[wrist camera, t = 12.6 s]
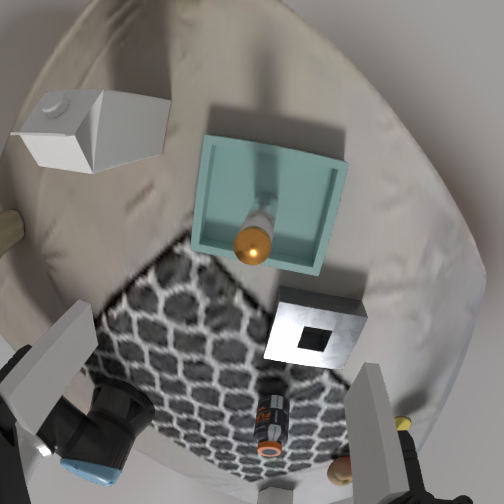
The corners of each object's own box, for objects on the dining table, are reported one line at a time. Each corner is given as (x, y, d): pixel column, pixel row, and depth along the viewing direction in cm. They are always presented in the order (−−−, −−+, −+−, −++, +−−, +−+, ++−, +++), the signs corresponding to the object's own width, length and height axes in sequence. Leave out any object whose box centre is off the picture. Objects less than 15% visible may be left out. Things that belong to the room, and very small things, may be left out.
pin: (252, 211, 35) (230, 260, 23) (256, 189, 34) (236, 226, 21) (275, 216, 35) (266, 268, 22) (280, 194, 34) (274, 234, 21)
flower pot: (0, 229, 43) (-28, 245, 35) (7, 191, 39) (-26, 205, 31) (26, 256, 44) (-3, 276, 36) (33, 218, 41) (0, 235, 33)
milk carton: (162, 154, 34) (62, 184, 17) (116, 148, 35) (8, 175, 17) (172, 100, 32) (72, 85, 14) (124, 97, 32) (15, 91, 14)
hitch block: (266, 340, 44) (263, 357, 40) (280, 285, 40) (279, 301, 36) (339, 352, 43) (342, 369, 40) (361, 301, 39) (367, 317, 36)
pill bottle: (268, 389, 49) (262, 441, 38) (295, 400, 49) (294, 450, 39) (252, 405, 51) (245, 453, 41) (278, 414, 52) (275, 462, 41)
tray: (197, 241, 39) (190, 250, 36) (211, 134, 33) (204, 134, 30) (316, 265, 38) (318, 276, 35) (343, 160, 32) (348, 163, 30)
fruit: (363, 456, 58) (366, 480, 50) (339, 466, 61) (340, 490, 53) (345, 449, 56) (347, 476, 49) (320, 460, 59) (320, 485, 52)
